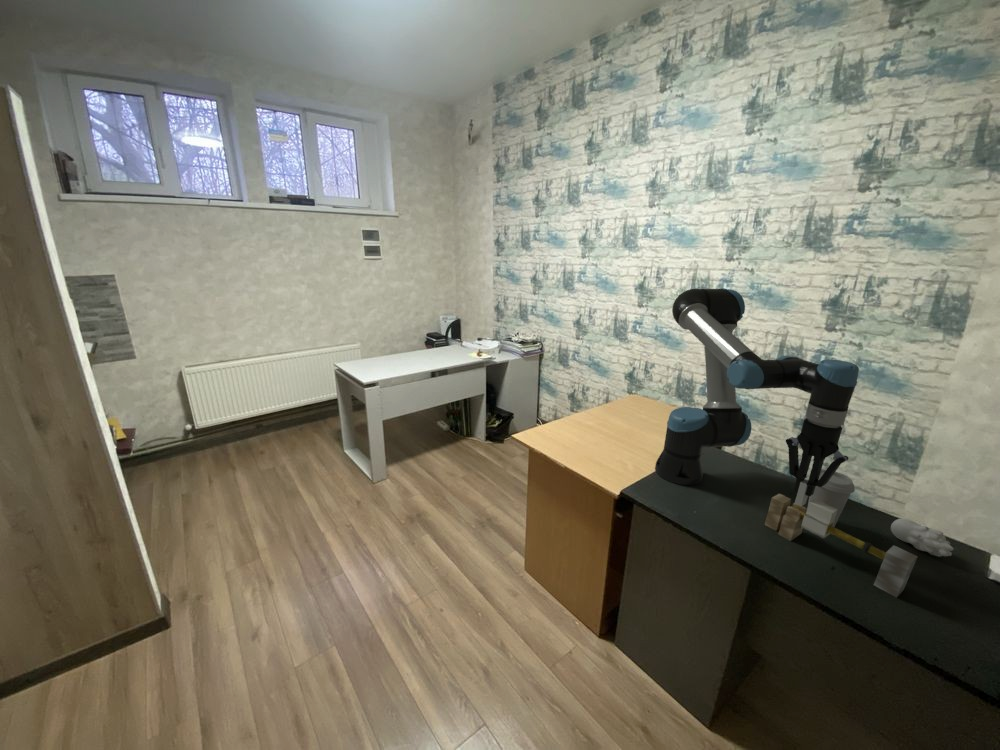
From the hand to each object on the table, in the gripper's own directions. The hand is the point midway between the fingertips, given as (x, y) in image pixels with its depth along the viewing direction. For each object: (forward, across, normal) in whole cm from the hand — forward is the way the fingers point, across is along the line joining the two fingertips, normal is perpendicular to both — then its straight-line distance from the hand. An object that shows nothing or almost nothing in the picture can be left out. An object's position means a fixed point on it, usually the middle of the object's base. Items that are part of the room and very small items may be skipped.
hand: (800, 503), depth 103 cm
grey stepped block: (+5, +5, 0) cm, 7 cm away
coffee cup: (+10, +1, +14) cm, 17 cm away
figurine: (+11, +19, +25) cm, 33 cm away
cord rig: (+10, +9, 0) cm, 13 cm away
